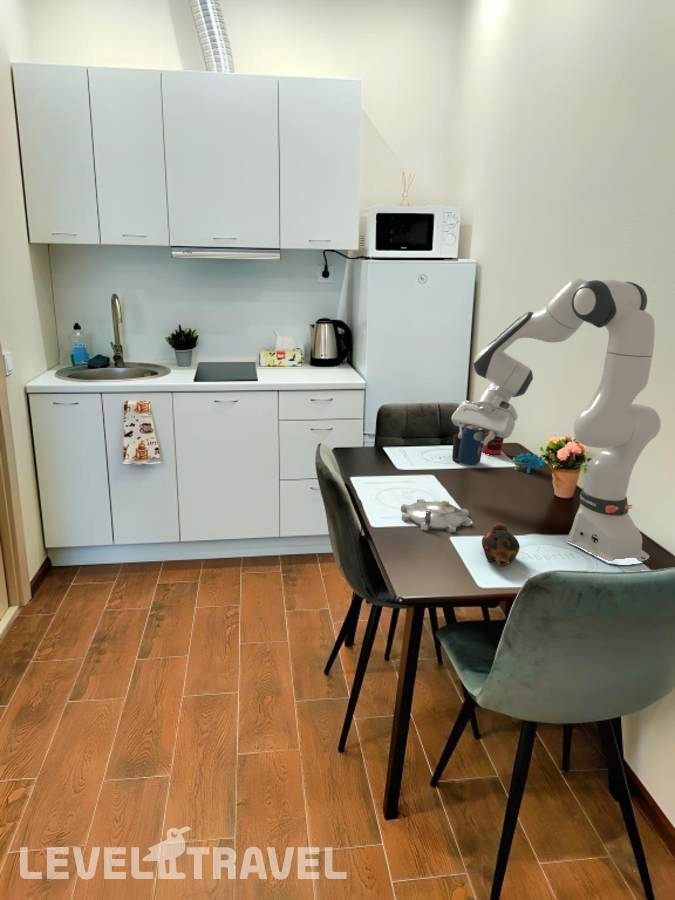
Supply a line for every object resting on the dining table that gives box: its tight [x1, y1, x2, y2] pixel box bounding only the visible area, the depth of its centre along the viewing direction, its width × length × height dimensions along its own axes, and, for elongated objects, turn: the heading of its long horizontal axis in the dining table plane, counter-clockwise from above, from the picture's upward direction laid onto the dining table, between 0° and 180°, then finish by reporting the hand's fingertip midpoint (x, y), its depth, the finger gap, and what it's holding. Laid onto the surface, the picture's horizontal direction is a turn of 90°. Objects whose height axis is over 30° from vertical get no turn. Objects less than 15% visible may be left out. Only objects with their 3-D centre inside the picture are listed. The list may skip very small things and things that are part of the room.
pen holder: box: [451, 432, 461, 464], centre depth 251 cm, size 9×9×10 cm
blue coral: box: [512, 452, 546, 474], centre depth 244 cm, size 11×6×10 cm
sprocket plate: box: [400, 498, 472, 534], centre depth 200 cm, size 21×21×4 cm
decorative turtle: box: [481, 522, 521, 567], centre depth 176 cm, size 10×15×8 cm, turn 178°
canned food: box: [482, 433, 505, 456], centre depth 262 cm, size 8×8×11 cm
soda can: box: [458, 424, 485, 467], centre depth 214 cm, size 7×7×12 cm
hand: (471, 441), depth 213 cm, fingers closed on soda can, 7 cm apart
